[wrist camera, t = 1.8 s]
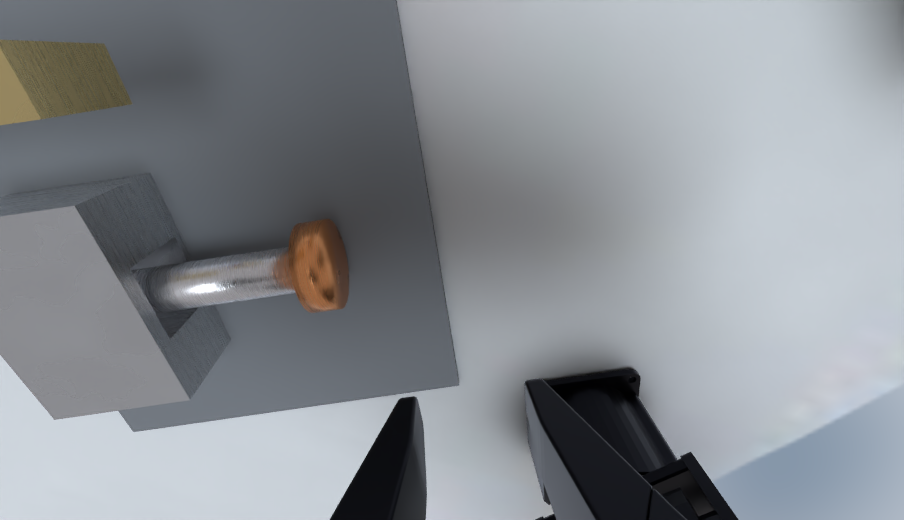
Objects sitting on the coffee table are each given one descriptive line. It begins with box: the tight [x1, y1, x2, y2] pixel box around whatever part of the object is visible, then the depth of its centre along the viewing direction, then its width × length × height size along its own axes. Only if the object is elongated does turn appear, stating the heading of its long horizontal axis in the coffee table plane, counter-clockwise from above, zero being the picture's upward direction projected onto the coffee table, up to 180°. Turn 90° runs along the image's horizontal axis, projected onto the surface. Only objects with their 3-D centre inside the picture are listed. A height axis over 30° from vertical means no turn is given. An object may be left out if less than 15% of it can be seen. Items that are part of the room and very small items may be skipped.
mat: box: [0, 0, 459, 432], centre depth 18 cm, size 20×24×1 cm
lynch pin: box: [131, 219, 349, 313], centre depth 17 cm, size 12×4×4 cm, turn 97°
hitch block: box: [0, 173, 231, 420], centre depth 17 cm, size 6×9×4 cm, turn 7°
